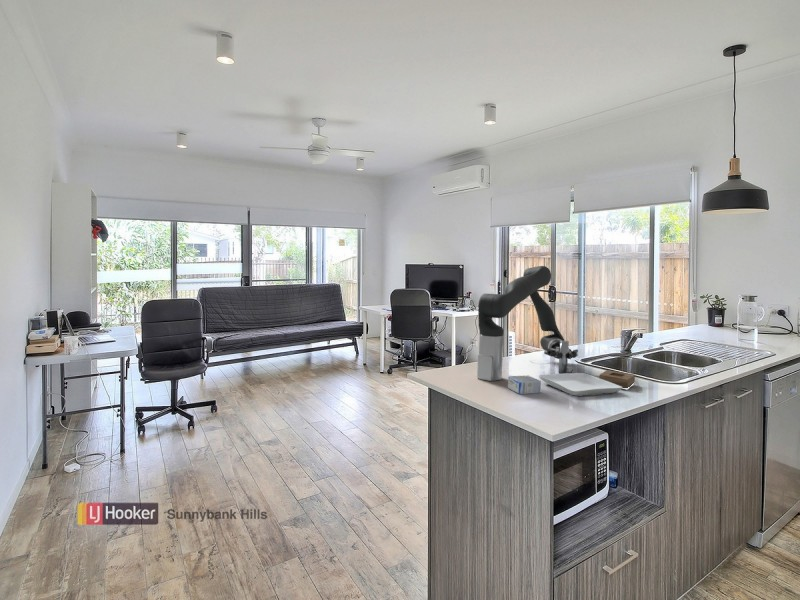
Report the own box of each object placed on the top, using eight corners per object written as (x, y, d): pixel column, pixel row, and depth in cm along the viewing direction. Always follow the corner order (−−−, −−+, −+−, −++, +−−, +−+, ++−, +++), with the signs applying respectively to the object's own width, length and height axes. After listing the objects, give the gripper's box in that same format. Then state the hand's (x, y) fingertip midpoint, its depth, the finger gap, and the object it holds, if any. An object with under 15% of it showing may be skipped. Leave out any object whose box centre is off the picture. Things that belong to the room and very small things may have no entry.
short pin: (563, 366, 184) (568, 364, 187) (558, 371, 185) (563, 369, 189) (569, 372, 182) (574, 370, 186) (564, 377, 184) (568, 375, 188)
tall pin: (565, 374, 178) (566, 342, 177) (557, 373, 180) (558, 341, 179) (568, 373, 180) (569, 341, 179) (560, 372, 182) (561, 340, 181)
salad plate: (624, 395, 159) (624, 386, 158) (573, 400, 152) (573, 390, 152) (583, 380, 179) (583, 371, 178) (536, 383, 172) (537, 374, 172)
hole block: (627, 390, 164) (627, 379, 164) (598, 385, 171) (599, 374, 170) (634, 384, 172) (635, 374, 171) (606, 380, 178) (607, 370, 178)
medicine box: (528, 386, 166) (507, 388, 164) (529, 374, 166) (507, 376, 164) (540, 392, 159) (518, 394, 157) (541, 380, 158) (519, 381, 156)
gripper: (541, 338, 195) (546, 345, 178) (575, 340, 192) (584, 347, 175) (540, 356, 195) (545, 364, 178) (574, 358, 193) (583, 366, 176)
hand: (564, 356), depth 177 cm, fingers closed on tall pin, 3 cm apart
